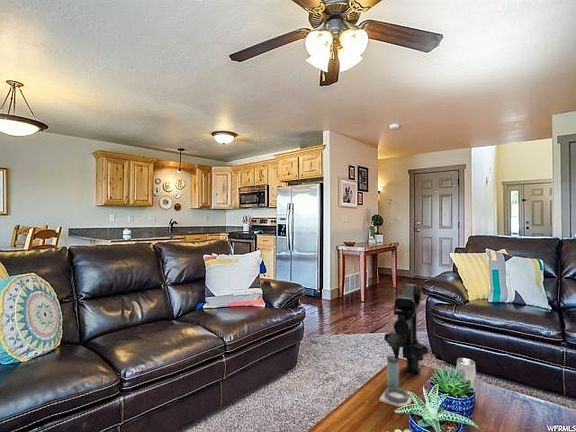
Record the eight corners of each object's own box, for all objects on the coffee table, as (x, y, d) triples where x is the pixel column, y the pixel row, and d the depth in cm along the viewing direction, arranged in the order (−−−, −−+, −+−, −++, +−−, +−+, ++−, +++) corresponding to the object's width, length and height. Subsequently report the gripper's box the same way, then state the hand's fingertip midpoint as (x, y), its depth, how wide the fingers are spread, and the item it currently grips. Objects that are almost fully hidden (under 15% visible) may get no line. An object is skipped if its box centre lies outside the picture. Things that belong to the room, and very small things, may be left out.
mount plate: (387, 388, 143) (387, 383, 143) (413, 396, 137) (413, 390, 137) (379, 400, 133) (379, 395, 133) (407, 409, 127) (407, 403, 127)
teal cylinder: (388, 382, 148) (388, 354, 148) (400, 385, 145) (400, 357, 145) (385, 387, 144) (385, 359, 144) (397, 390, 141) (397, 361, 141)
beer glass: (462, 390, 141) (462, 356, 141) (478, 398, 135) (478, 362, 135) (453, 395, 137) (453, 360, 137) (469, 403, 131) (469, 366, 131)
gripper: (374, 323, 141) (375, 358, 141) (409, 338, 125) (409, 378, 125) (393, 318, 146) (393, 353, 147) (428, 332, 130) (428, 371, 130)
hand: (405, 363), depth 137 cm, fingers open, 9 cm apart
